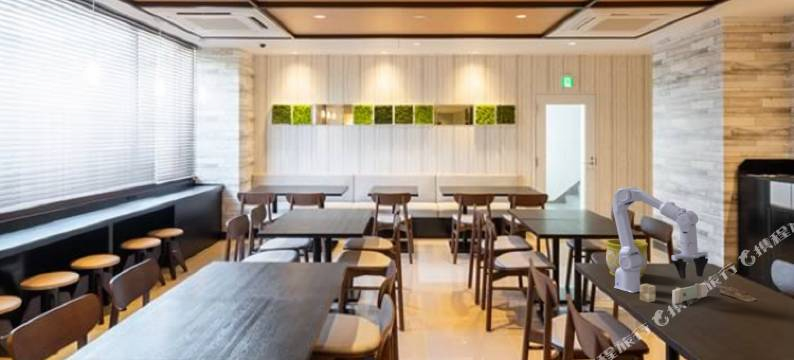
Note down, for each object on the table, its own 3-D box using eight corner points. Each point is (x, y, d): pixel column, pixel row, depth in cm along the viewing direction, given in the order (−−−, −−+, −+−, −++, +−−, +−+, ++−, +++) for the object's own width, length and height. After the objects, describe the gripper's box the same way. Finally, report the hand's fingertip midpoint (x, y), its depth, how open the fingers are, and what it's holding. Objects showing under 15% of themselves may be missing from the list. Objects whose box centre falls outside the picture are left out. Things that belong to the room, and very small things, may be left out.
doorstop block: (639, 299, 203) (639, 285, 203) (646, 298, 205) (646, 283, 205) (648, 302, 200) (649, 287, 199) (655, 300, 202) (655, 286, 201)
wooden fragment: (763, 303, 197) (763, 300, 197) (731, 302, 199) (731, 299, 199) (732, 285, 223) (732, 283, 223) (704, 285, 225) (705, 282, 225)
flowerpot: (605, 279, 235) (605, 244, 234) (605, 270, 251) (606, 237, 250) (648, 282, 228) (649, 246, 227) (645, 273, 245) (646, 239, 244)
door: (679, 300, 200) (679, 288, 200) (694, 296, 205) (694, 285, 204) (683, 301, 199) (683, 289, 198) (698, 297, 203) (698, 286, 203)
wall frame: (671, 303, 198) (671, 288, 198) (702, 295, 208) (703, 281, 208) (675, 304, 197) (676, 290, 196) (707, 296, 207) (708, 282, 206)
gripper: (679, 245, 193) (682, 281, 192) (713, 242, 195) (715, 277, 195) (666, 243, 200) (669, 277, 199) (699, 240, 202) (701, 274, 202)
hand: (691, 277), depth 198 cm, fingers open, 7 cm apart
